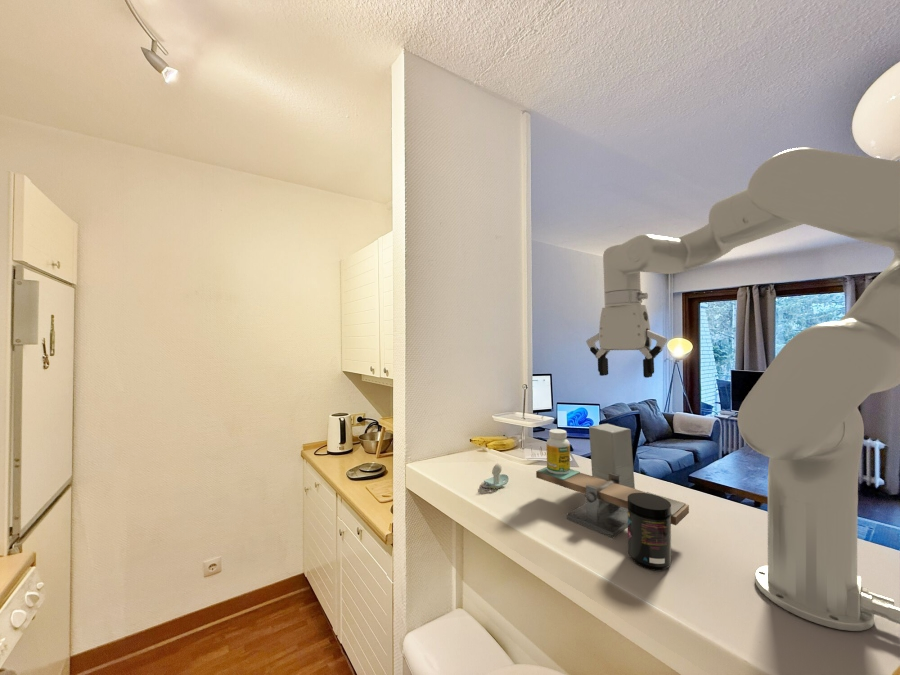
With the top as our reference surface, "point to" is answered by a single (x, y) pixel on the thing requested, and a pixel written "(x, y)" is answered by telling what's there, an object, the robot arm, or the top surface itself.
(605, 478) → the skincare box
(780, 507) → the robot arm
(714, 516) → the top surface
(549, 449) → the supplement bottle
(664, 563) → the supplement container
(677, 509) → the beam
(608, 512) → the beam stand
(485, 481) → the pacifier
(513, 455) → the top surface
